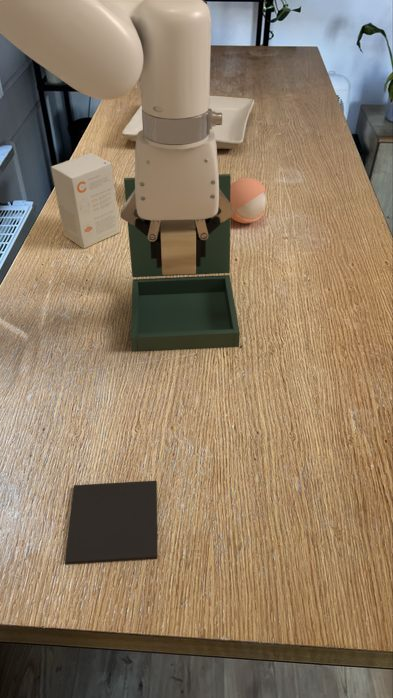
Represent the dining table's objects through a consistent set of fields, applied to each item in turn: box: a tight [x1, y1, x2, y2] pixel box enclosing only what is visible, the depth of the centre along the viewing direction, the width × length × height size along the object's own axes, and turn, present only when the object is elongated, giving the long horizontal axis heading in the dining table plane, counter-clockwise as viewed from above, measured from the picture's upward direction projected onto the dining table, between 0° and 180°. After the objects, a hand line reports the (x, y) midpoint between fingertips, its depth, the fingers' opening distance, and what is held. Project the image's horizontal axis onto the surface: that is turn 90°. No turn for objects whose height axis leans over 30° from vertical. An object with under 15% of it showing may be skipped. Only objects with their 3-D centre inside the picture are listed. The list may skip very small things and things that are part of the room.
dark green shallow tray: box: [129, 274, 241, 353], centre depth 84 cm, size 14×15×3 cm
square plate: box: [121, 95, 255, 150], centre depth 139 cm, size 27×27×4 cm
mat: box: [64, 480, 158, 565], centre depth 61 cm, size 9×9×1 cm
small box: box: [50, 152, 121, 249], centre depth 100 cm, size 8×6×13 cm
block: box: [160, 220, 196, 275], centre depth 77 cm, size 4×4×6 cm
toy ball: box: [230, 177, 267, 224], centre depth 105 cm, size 8×8×8 cm
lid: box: [123, 173, 232, 278], centre depth 84 cm, size 15×15×1 cm
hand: (178, 260), depth 78 cm, fingers closed on block, 4 cm apart
